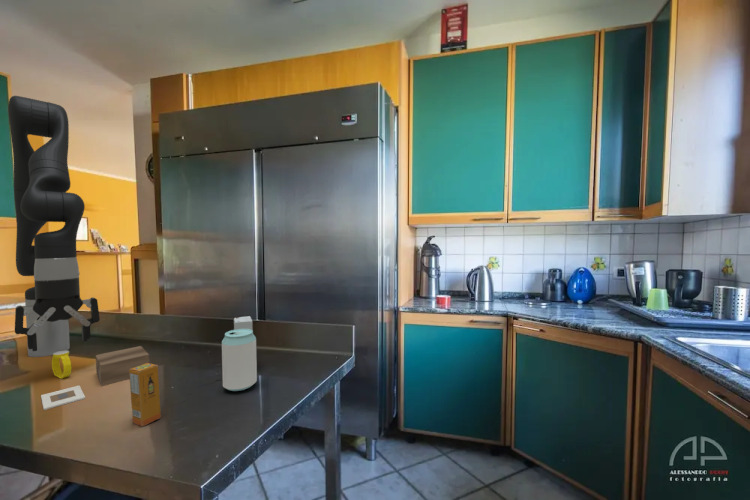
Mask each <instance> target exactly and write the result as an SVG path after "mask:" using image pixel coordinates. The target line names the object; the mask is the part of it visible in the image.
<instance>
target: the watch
mask: <svg viewBox="0 0 750 500" xmlns="http://www.w3.org/2000/svg"><path fill="white" fill-rule="evenodd" d="M69 355H70V350H69V349H68V350H64V351H58V352H55V353H53V355H52V358H51V369H52V372H53V375H54V377H57V378H59V379H61V380H62V379H66V378H68V377H69V376H70V375H71V373H72V361H71V358H70V356H69ZM60 360H61V362H62V367H63V370H62V369H61V368H62V367H61V364H60Z"/></svg>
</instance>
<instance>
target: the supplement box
mask: <svg viewBox="0 0 750 500" xmlns="http://www.w3.org/2000/svg"><path fill="white" fill-rule="evenodd" d="M129 375H130V379H129V386H130V387H129V388H130V400H131V401H130V402H131V417H132V423H133V424H134V425H137V426H139V427H145V426H147V425H149V424H151V423H153V422H154V421H157V420H159V419H161V416H162V415H161V413H162V412H161V400H160V397H161V396H160V383H159V380H160V379H159V365H158V364H153V363H150V362H149V363H146V364H143V365H140V366H137V367H135V368H132V369H129Z"/></svg>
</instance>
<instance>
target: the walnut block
mask: <svg viewBox="0 0 750 500" xmlns="http://www.w3.org/2000/svg"><path fill="white" fill-rule="evenodd" d="M146 363H150V354H149V353H148V352H147V351H146V350H145V349H144V347H143V346H142V345H139V346H134V347H128V348H125V349H120V350H119V349H118V350H114V351H109V352H108V351H107V352H104V353H100V354H96V355H95V367H96V369H95V371H96V373H95V374H96V376H97V378H98V381H99V384H100V387H104V386H109V385H111V384H117V383H119V382H123V381H128V380H130V375H129V369H132V368H135V367H137V366H140V365H143V364H146Z"/></svg>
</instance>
